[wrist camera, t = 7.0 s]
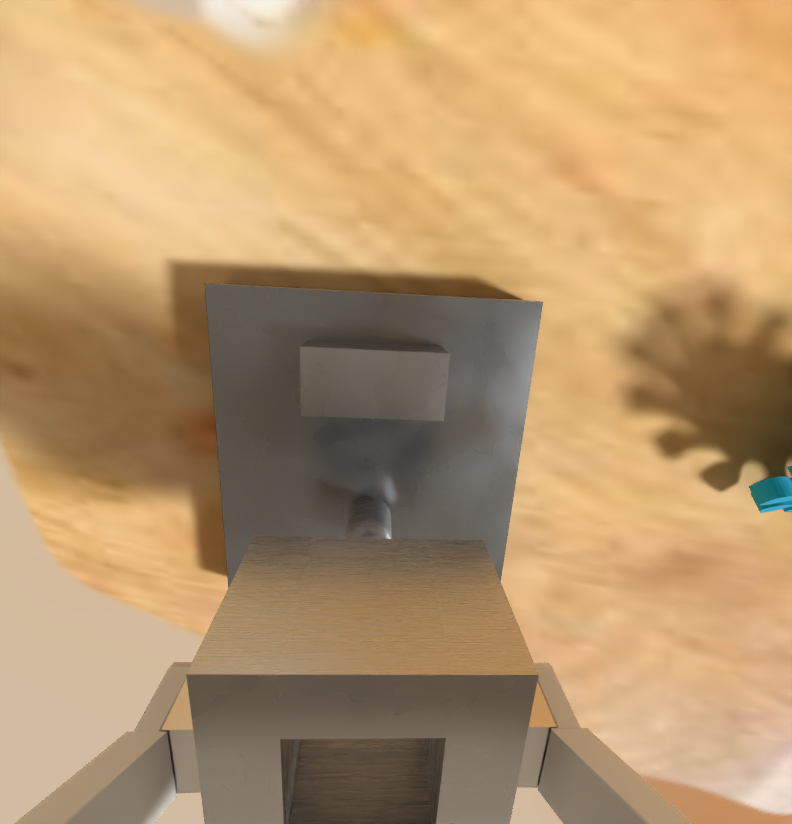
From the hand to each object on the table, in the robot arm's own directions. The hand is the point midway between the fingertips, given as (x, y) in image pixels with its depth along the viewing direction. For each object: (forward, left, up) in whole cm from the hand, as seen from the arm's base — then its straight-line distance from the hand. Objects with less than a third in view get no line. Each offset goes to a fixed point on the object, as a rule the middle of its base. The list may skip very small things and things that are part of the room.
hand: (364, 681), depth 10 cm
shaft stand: (-2, 0, -10) cm, 10 cm away
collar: (0, 0, -2) cm, 2 cm away
